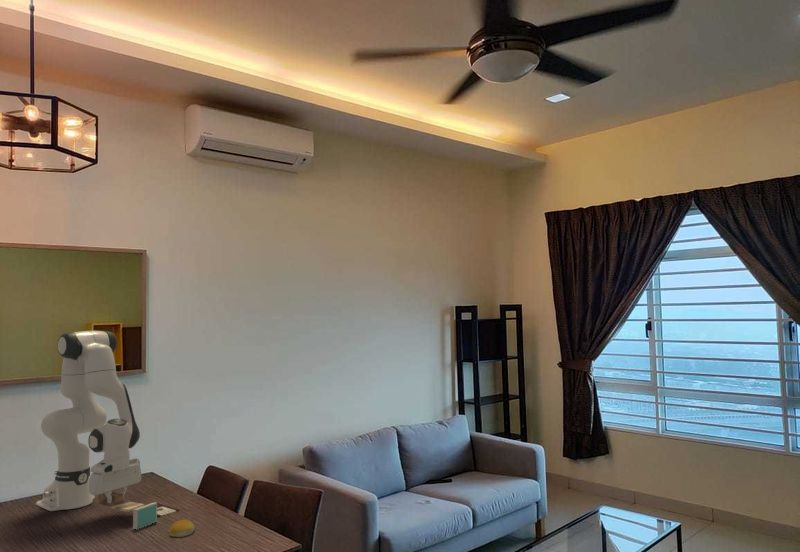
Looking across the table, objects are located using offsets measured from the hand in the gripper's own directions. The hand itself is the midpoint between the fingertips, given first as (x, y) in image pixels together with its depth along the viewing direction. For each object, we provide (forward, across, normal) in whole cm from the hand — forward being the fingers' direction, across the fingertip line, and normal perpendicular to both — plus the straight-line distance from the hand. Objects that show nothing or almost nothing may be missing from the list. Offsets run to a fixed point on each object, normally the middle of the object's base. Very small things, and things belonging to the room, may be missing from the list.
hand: (115, 500), depth 219 cm
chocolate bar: (+8, -14, +5) cm, 17 cm away
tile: (+7, 0, +16) cm, 17 cm away
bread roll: (+8, 0, +34) cm, 34 cm away
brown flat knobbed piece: (+2, 0, +2) cm, 3 cm away
